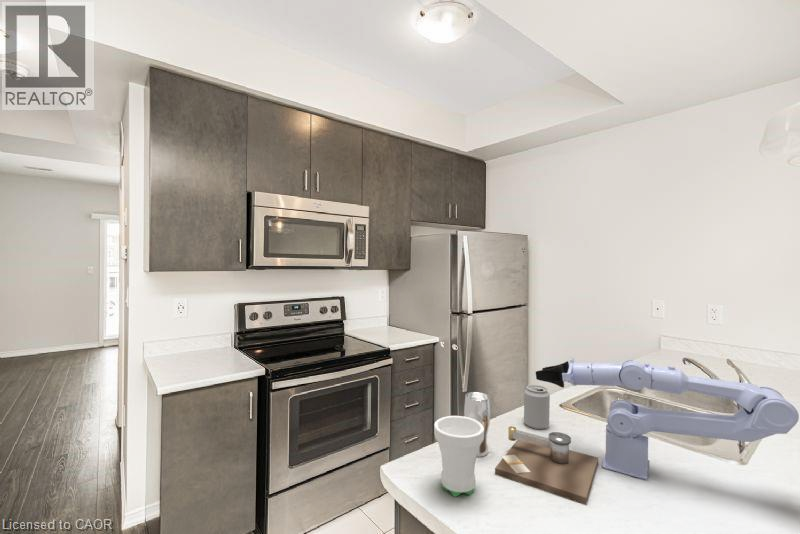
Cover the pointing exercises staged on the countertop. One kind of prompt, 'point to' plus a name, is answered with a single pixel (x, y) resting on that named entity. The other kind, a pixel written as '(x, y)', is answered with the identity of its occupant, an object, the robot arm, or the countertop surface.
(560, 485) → the brown flat wooden board
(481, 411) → the beer glass
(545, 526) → the countertop surface
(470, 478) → the cup
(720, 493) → the countertop surface
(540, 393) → the can
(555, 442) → the grey bar with knobs
